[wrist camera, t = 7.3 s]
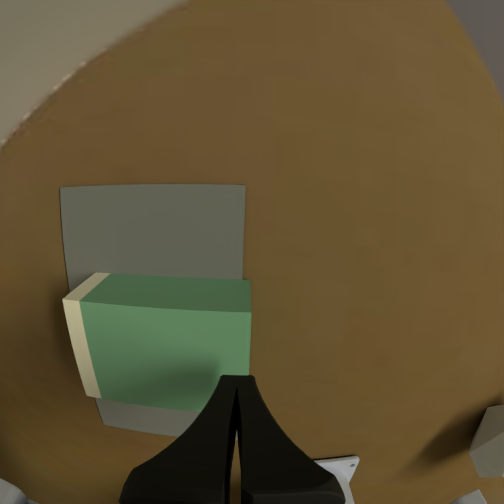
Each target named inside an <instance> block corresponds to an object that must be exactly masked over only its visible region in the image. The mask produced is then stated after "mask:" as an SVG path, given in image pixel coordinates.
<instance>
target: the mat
mask: <svg viewBox="0 0 504 504" xmlns="http://www.w3.org/2000/svg"><path fill="white" fill-rule="evenodd" d="M245 188H246V185H229V184H124V185H95V186H75V187H60V199H61V218H62V232H63V243H64V253H65V261H66V269H67V276H68V283H69V290H70V292H72V291H73V290H74V289H75V288H77V287H78V286H79V285H80V284H82V283H83V282H84V281H85V280H87V279H88V278H89V277H90V276H92V275H93V274H94V273H112V274H129V275H148V276H168V277H190V278H214V279H242V275H243V244H244V215H245ZM95 400H96V403H97V406H98V409H99V412H100V415H101V418H102V421H103V424H104V425H108V426H113V427H118V428H123V429H129V430H134V431H140V432H147V433H154V434H161V435H169V436H177V437H179V436H180V435H181V434H183V433H184V432H185V430H186V429H187V428H188V427H189V426H190V425H191V424H192V423H193V421H194V420H195V419H196V418H197V416H198V415H199V414H200V412H196V411H184V410H174V409H165V408H157V407H149V406H142V405H135V404H129V403H123V402H117V401H111V400H106V399H101V398H96V397H95ZM235 441H238V437H237V432H236V439H235Z"/></svg>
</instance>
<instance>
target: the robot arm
mask: <svg viewBox="0 0 504 504" xmlns="http://www.w3.org/2000/svg"><path fill="white" fill-rule="evenodd" d="M236 432H237V437H238V448H239V458H240V468H241V504H354V501H353V497H352V494H351V490H350V487H349V481H350V479H351V477H352V475H353V473H354V471H355V469H356V467H357V465H358V463H359V457H358V456H351V457H344V458H336V459H326V460H315V461H313V460H312V459H311V458H309V457H308V456H307V455H306V454H305V453H304V452H303V451H302V450H301V449H299V448H298V447H297V446H296V445H295V444H294V443H293V442H292V441H291V440H290V438H289V437H288V436H287V435H286V434H285V433H284V431H283V430H282V429H281V428H280V426H279V425H278V424H277V422H276V421H275V419H274V418H273V416H272V415H271V413H270V411H269V410H268V408H267V406H266V404H265V403H264V401H263V399H262V397H261V395H260V392H259V390H258V387H257V385H256V381H255V377H253V376H252V375H222V376H220V379H219V382H218V384H217V386H216V388H215V390H214V392H213V394H212V396H211V397H210V399H209V401H208V402H207V404H206V405H205V407H204V408H203V410H202V411H201V412H200V414H199V415H198V416H197V418H196V419H195V420H194V421H193V423H192V424H191V425H190V426H189V427H188V428H187V429H186V430H185V432H184V433H183V434H181V435H180V436H179V437H178V438H177V439H176V440H175V441H174V442H173V443H172V444H170V445H169V446H168V447H167V448H165V449H164V450H163V451H161V452H160V453H159V454H157V455H156V456H154V457H153V458H151V459H150V460H148V461H146V462H144V463H143V464H141V465H139V466H137V467H136V468H134V469H133V470H132V471H131V473H130V474H129V476H128V478H127V480H126V482H125V484H124V486H123V489H122V493H121V496H120V500H119V503H120V504H230V477H231V467H232V460H233V453H234V446H235V439H236ZM0 504H38V503H36V502H34V501H32V500H30V499H27V497H26V495H25V494H24V493H23V492H22V491H21V490H20V489H19V488H18V487H16V486H14V485H13V484H11V483H9V482H7V481H5V480H3V479H1V478H0ZM450 504H487V503H486V501H485V499H484V497H483V496H482V494H481V492H480V490H479V489H477V490H475V491H472V492H470V493H468V494H466V495H464V496H461V497H459V498H457V499H456V500H454V501H453V502H451V503H450Z"/></svg>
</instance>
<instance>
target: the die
mask: <svg viewBox="0 0 504 504" xmlns="http://www.w3.org/2000/svg"><path fill="white" fill-rule="evenodd" d="M469 454H470V457H471V459H472V461H473V464H474V466H475V468H476V471H477V473H478V476H479V478H489V477H503V476H504V405H498V406H492V407H487V410H486V412H485V414H484V416H483V419H482V421H481V423H480V425H479V427H478V429H477V431H476V433H475V435H474V437H473V440H472V443H471V447H470V450H469Z"/></svg>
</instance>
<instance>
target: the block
mask: <svg viewBox="0 0 504 504" xmlns="http://www.w3.org/2000/svg"><path fill="white" fill-rule="evenodd" d="M62 300H63V306H64V311H65V316H66V321H67V325H68V330H69V334H70V338H71V343H72V347H73V351H74V355H75V358H76V362H77V366H78V369H79V373H80V376H81V380H82V383H83V386H84V389H85V392H86V396H91V397H96V398H101V399H106V400H111V401H117V402H123V403H129V404H135V405H142V406H149V407H157V408H165V409H174V410H184V411H196V412H201V411H202V410H203V408H204V407H205V405H206V404H207V402H208V401H209V399H210V397H211V396H212V394H213V392H214V390H215V388H216V386H217V384H218V382H219V379H220V376H222V375H249V358H250V335H251V287H250V280H242V279H214V278H190V277H168V276H148V275H129V274H112V273H94V274H93V275H92V276H90V277H89V278H88V279H87V280H85V281H84V282H83V283H82V284H80V285H79V286H78V287H77V288H75V289H74V290H73V291H72V292H70V293H69V294H68V295H67V296H66V297H64V298H63V299H62Z"/></svg>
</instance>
